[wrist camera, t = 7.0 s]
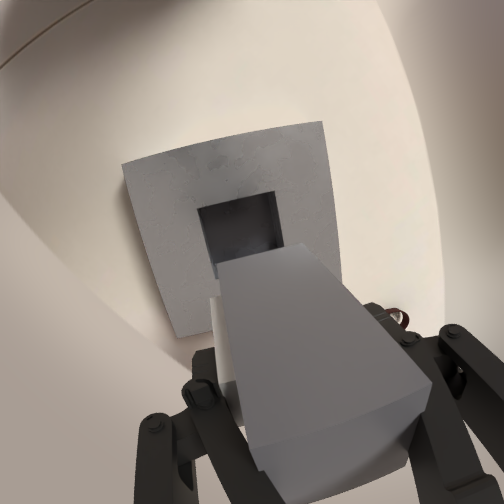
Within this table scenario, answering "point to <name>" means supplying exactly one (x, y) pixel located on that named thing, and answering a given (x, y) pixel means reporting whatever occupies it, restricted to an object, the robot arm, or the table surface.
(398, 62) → the table surface
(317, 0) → the table surface
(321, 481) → the plug
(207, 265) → the socket
